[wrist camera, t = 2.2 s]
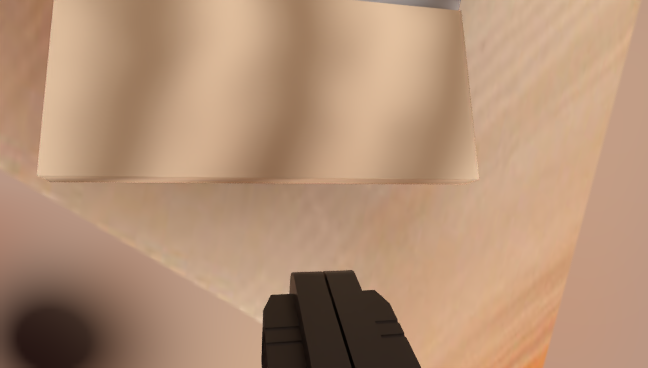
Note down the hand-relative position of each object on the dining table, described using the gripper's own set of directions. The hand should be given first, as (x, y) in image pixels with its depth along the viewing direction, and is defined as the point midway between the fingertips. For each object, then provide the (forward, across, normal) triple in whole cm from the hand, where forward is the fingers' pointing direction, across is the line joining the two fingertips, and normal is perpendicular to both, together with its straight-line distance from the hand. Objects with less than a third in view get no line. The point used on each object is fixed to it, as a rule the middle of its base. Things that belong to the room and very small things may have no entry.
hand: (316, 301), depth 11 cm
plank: (+11, 0, -3) cm, 12 cm away
